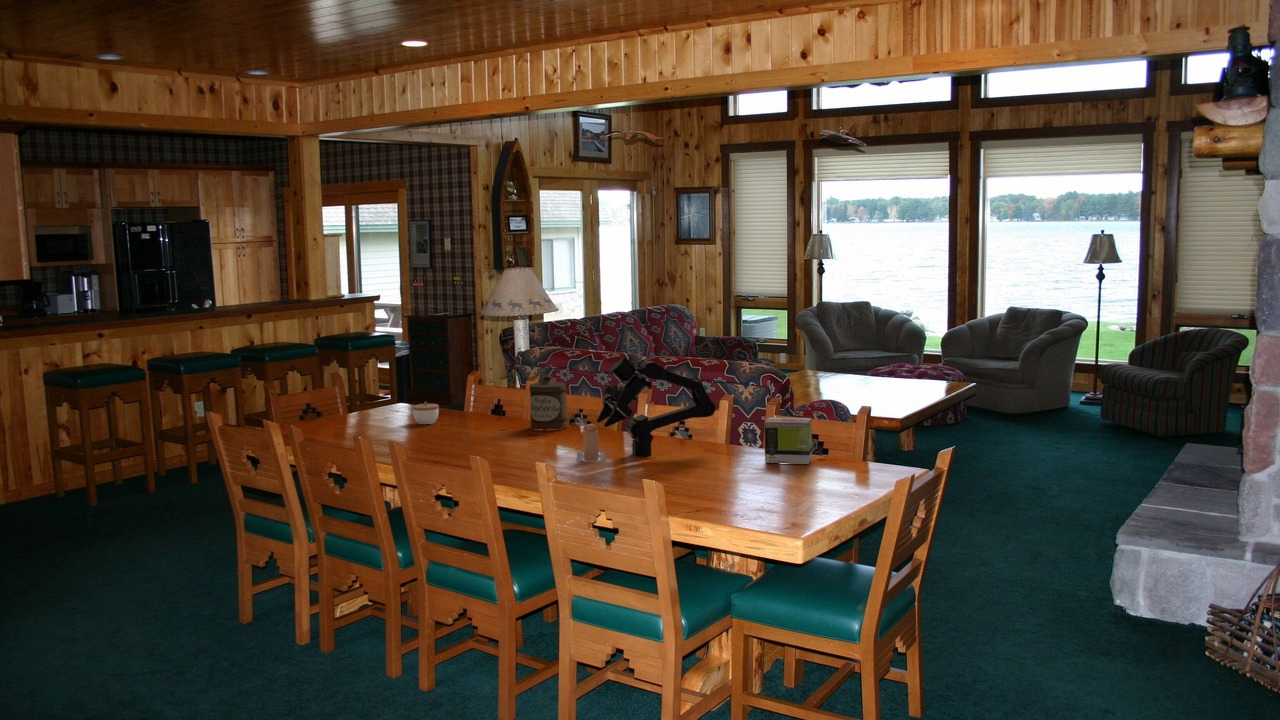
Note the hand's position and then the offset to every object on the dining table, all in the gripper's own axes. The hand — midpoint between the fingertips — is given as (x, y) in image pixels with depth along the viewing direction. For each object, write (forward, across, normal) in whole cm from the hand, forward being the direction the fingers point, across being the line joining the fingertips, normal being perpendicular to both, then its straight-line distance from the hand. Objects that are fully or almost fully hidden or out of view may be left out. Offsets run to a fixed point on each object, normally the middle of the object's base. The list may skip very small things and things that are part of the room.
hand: (601, 424), depth 350 cm
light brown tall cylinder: (+11, 0, +6) cm, 13 cm away
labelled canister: (+12, -68, +7) cm, 69 cm away
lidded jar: (+44, -97, -26) cm, 110 cm away
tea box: (-32, +25, +51) cm, 65 cm away
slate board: (+11, -4, +7) cm, 14 cm away
